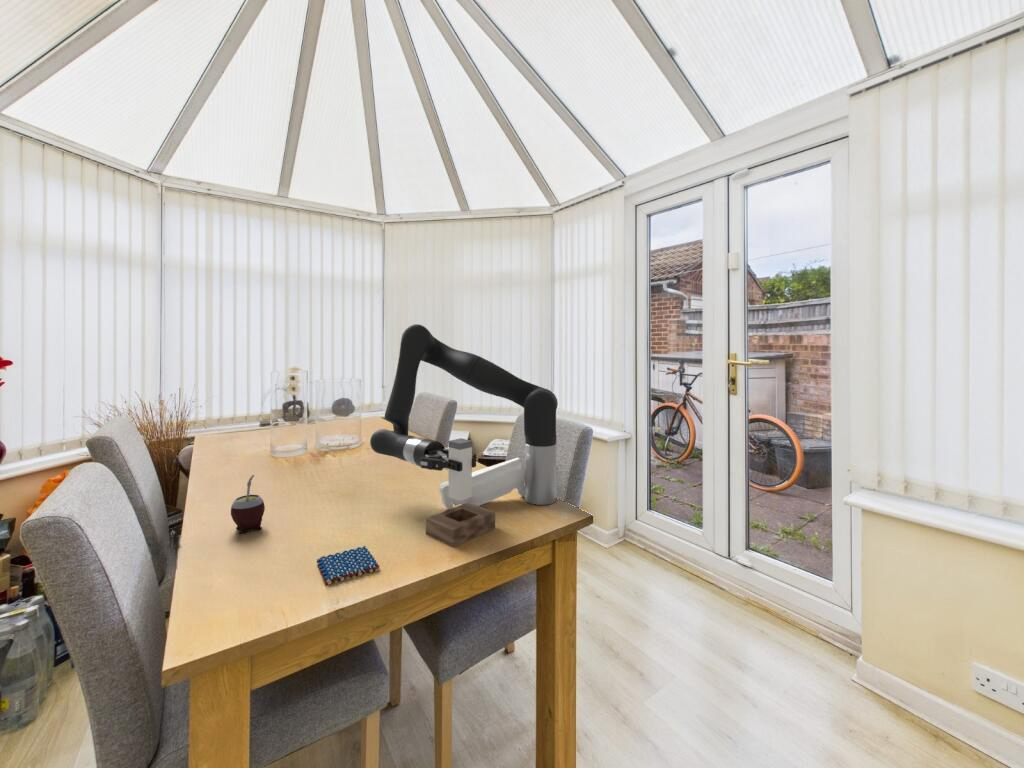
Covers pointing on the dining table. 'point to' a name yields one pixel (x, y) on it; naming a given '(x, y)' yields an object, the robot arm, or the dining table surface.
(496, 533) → the dining table surface
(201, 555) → the dining table surface
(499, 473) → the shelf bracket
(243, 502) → the mate gourd
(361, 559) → the woven mat
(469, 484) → the grey-capped white post
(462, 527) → the brown square socket block
